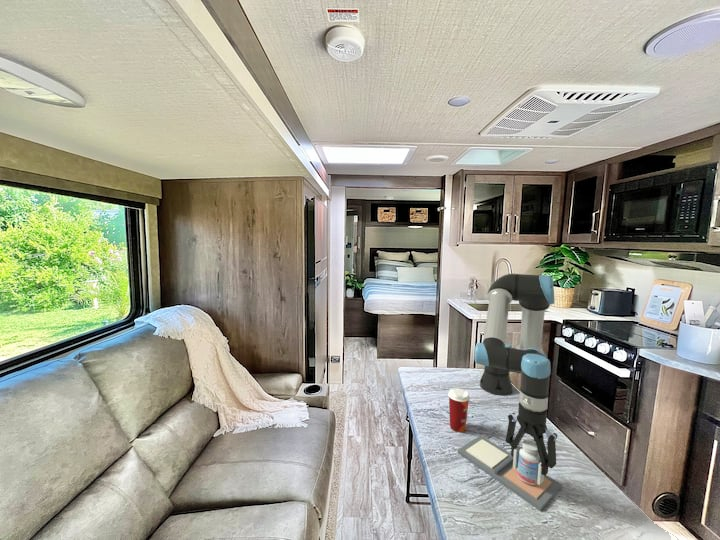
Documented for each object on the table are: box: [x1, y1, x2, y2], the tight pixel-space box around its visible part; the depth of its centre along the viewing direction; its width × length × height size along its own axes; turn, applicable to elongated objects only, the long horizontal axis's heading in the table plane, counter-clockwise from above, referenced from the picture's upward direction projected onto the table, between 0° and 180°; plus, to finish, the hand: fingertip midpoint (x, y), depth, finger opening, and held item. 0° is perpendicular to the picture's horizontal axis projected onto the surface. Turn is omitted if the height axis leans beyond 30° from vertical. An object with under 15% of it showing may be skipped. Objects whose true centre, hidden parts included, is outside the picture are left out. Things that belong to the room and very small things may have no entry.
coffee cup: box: [447, 387, 470, 433], centre depth 120 cm, size 8×8×15 cm
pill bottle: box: [517, 439, 541, 485], centre depth 93 cm, size 6×6×11 cm
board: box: [457, 435, 563, 512], centre depth 100 cm, size 14×28×2 cm, turn 35°
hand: (527, 474), depth 94 cm, fingers open, 7 cm apart
